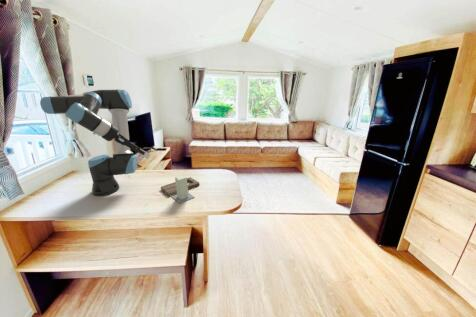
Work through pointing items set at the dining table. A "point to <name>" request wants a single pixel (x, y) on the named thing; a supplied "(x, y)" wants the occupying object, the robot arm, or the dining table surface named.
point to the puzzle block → (181, 187)
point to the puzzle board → (171, 188)
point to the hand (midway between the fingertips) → (144, 153)
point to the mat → (182, 199)
